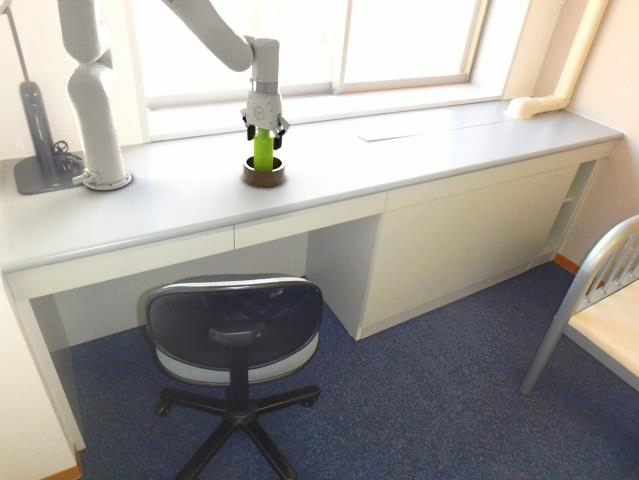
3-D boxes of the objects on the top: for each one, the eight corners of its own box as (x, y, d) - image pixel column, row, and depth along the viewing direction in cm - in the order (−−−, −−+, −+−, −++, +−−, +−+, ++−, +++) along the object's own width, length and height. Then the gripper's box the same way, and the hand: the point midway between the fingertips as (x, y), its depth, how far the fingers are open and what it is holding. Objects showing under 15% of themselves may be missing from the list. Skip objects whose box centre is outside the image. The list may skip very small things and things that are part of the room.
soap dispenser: (258, 183, 135) (259, 119, 123) (250, 173, 139) (251, 111, 128) (276, 180, 137) (279, 117, 126) (268, 170, 142) (269, 109, 130)
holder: (267, 192, 132) (268, 175, 129) (235, 179, 137) (234, 162, 133) (291, 177, 141) (292, 161, 138) (260, 165, 146) (260, 150, 142)
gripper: (232, 81, 123) (233, 139, 133) (283, 96, 116) (280, 156, 126) (249, 76, 128) (249, 132, 138) (299, 90, 122) (295, 148, 131)
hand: (264, 144), depth 132 cm, fingers open, 9 cm apart
